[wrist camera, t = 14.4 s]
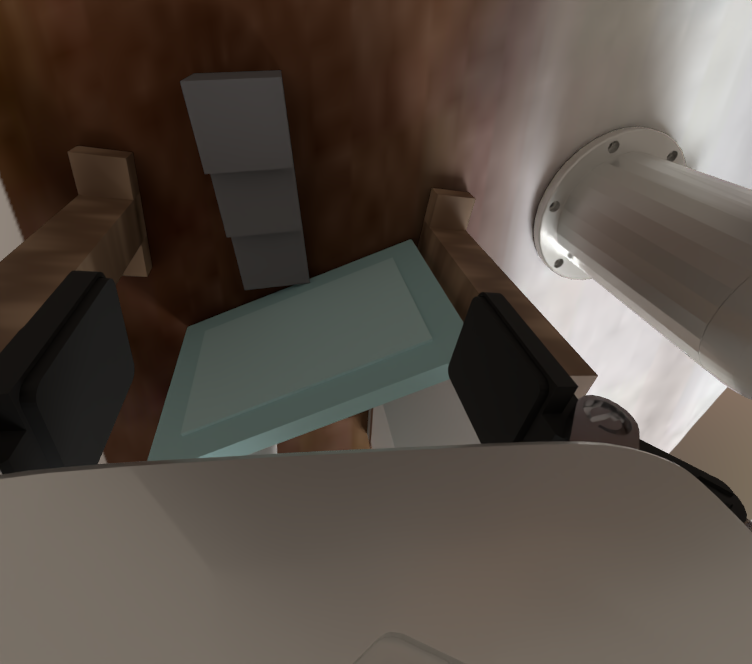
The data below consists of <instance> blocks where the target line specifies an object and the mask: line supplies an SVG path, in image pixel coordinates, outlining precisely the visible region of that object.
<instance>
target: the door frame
mask: <svg viewBox="0 0 752 664" xmlns="http://www.w3.org/2000/svg"><path fill="white" fill-rule="evenodd" d="M68 156H69V160H70V164H71V168H72V172H73V175H74V179H75V183H76V187H77V191H78V196H77V197H76V198H74V199H73V200H72V201H71V202H70V203H69V204H67V205H66V206H65V207H64V208H63V209H62V210H60V211H59V212H58V213H57V214H56V215H54V216H53V217H52V218H51V219H50V220H49V221H47V222H46V223H45V224H44V225H43V226H42V227H40V228H39V229H38V230H37V231H36V232H35V233H33V234H32V235H31V236H30V237H29V238H28V239H26V240H25V241H24V242H23V243H22V244H21V245H19V246H18V247H17V248H16V249H15V250H13V251H12V252H11V253H10V254H9V255H8V256H7V257H5V258H4V259H3V260H2V261H1V262H0V352H1V351H2V350H3V349H4V348H5V347H6V345H7V344H8V343H9V342H10V341H11V340H12V338H13V337H14V336H15V335H16V334H17V332H18V331H19V330H20V329H21V328H23V327H24V326H25V325H26V323H27V322H28V321H29V320H30V319H31V318H32V316H33V315H34V314H35V313H36V312H37V311H38V309H39V308H40V307H41V306H42V305H43V303H44V302H45V301H46V300H47V299H48V298H49V296H50V295H51V294H52V293H53V292H54V291H55V289H56V288H57V287H58V286H59V285H60V283H61V282H62V281H63V280H64V279H65V278H66V276H67V275H68V274H69V273H70V272H71V271H74V270H76V271H95V272H102V273H104V275H105V276H106V278H112V279H113V280H114V282H115V285H116V284H117V282H118V281H119V279H120V278H121V276H139V277H147V276H148V274H149V273H150V271H151V269H152V262H151V256H150V250H149V244H148V238H147V232H146V226H145V220H144V215H143V209H142V203H141V197H140V191H139V185H138V179H137V173H136V167H135V161H134V155H133V152H127V151H118V150H110V149H102V148H93V147H85V146H76V147H74V148H73V149H71V150H69V151H68ZM475 200H476V198H474V197H473V196H472V195H471V194H470V193H469V192H463V191H455V190H446V189H438V188H432V189H431V193H430V197H429V201H428V206H427V210H426V214H425V218H424V222H423V226H422V230H421V234H420V238H419V243H418V247H417V249H418V250H419V252H420V254H421V255H422V257H423V258H424V260H425V262H426V263H427V265H428V267H429V268H430V270H431V271H432V273H433V275H434V276H435V278H436V279H437V281H438V283H439V284H440V286H441V287H442V289H443V291H444V292H445V294H446V295H447V297H448V299H449V300H450V302H451V303H452V305H453V307H454V308H455V310H456V311H457V313H458V315H459V316H460V318H461V320H462V321H463V323H464V320H465V318H466V315H467V312H468V309H469V306H470V304H471V301H472V299H473V298H474V297H475V296H476V297H477V296H478V295H479V293H481V292H493V293H501V294H502V295H503V296H504V297H505V298H506V299H507V301H508V302H509V303H510V304H511V305H512V307H513V308H514V309H515V310H516V311H517V313H518V314H519V315H520V316H521V318H522V319H523V320H524V321H525V322H526V324H527V325H528V326H529V327H530V328H531V330H532V331H533V332H534V333H535V334H536V336H537V337H538V338H539V339H540V340H541V342H542V343H543V344H544V345H545V347H546V348H547V349H548V350H549V351H550V353H551V354H552V355H553V356H554V357H555V359H556V360H557V361H558V362H559V363H560V365H561V366H562V367H563V368H564V370H565V371H566V372H567V373H568V374H569V376H570V377H571V378H572V379H573V380H574V382H575V383H576V384H577V385H578V386H579V387H578V388H577V390H576V392H575V393H574V394H575V396H576V397H577V398H578V399H579V398H581V397H582V396H585V395H586V393H587V392H588V390H589V389H590V387H591V386H592V384H593V383H594V381H595V379H596V378H597V376H598V375H597V374H596V373H595V372H594V371H593V370H592V369H591V368H590V366H589V365H588V364H587V363H586V362H585V361H584V360H583V359H582V358H581V357H580V355H579V354H578V353H577V352H576V351H575V350H574V349H573V348H572V347H571V346H570V344H569V343H568V342H567V341H566V340H565V339H564V338H563V337H562V336H561V335H560V334H559V332H558V331H557V330H556V329H555V328H554V327H553V326H552V325H551V324H550V323H549V321H548V320H547V319H546V318H545V317H544V316H543V315H542V314H541V313H540V312H539V310H538V309H537V308H536V307H535V306H534V305H533V304H532V303H531V302H530V301H529V300H528V298H527V297H526V296H525V295H524V294H523V293H522V292H521V291H520V290H519V289H518V287H517V286H516V285H515V284H514V283H513V282H512V281H511V280H510V279H509V278H508V276H507V275H506V274H505V273H504V272H503V271H502V270H501V269H500V268H499V267H498V266H497V264H496V263H495V262H494V261H493V260H492V259H491V258H490V257H489V256H488V255H487V253H486V252H485V251H484V250H483V249H482V248H481V247H480V246H479V245H478V244H477V242H476V241H475V240H474V239H473V238H472V237H471V236H470V235H469V234H468V233H467V232H466V229H467V225H468V222H469V219H470V216H471V212H472V209H473V206H474V203H475Z"/></svg>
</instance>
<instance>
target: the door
mask: <svg viewBox="0 0 752 664" xmlns="http://www.w3.org/2000/svg"><path fill="white" fill-rule="evenodd" d="M309 280H310V283H306V284H297V285H293V286H290V287H288V288H285V289H283V290H280V291H278V292H275V293H272V294H270V295H267V296H265V297H262V298H260V299H257V300H255V301H252V302H250V303H247V304H245V305H242V306H239V307H237V308H234V309H232V310H229V311H227V312H224V313H222V314H219V315H217V316H214V317H211V318H209V319H206V320H204V321H201V322H199V323H196V324H194V325H191V326H189V327H187V330H186V334H185V337H184V340H183V344H182V347H181V350H180V354H179V357H178V360H177V364H176V367H175V370H174V374H173V377H172V380H171V384H170V387H169V390H168V394H167V397H166V400H165V404H164V407H163V411H162V414H161V417H160V421H159V424H158V427H157V431H156V434H155V437H154V441H153V444H152V447H151V451H150V454H149V457H148V461H157V460H173V459H191V458H209V457H227V456H245V455H249V454H251V453H254V452H257V451H259V450H262V449H265V448H267V447H270V446H273V445H275V444H278V443H281V442H283V441H286V440H289V439H291V438H294V437H297V436H299V435H302V434H305V433H307V432H310V431H313V430H315V429H318V428H321V427H323V426H326V425H329V424H331V423H334V422H337V421H339V420H342V419H345V418H347V417H350V416H353V415H355V414H358V413H361V412H363V411H366V410H369V409H371V408H374V407H377V406H380V405H382V404H385V403H388V402H390V401H393V400H396V399H398V398H401V397H404V396H406V395H409V394H412V393H414V392H417V391H420V390H422V389H425V388H428V387H430V386H433V385H436V384H438V383H441V382H444V381H446V380H449V379H450V378H449V375H448V366H449V363H450V360H451V357H452V354H453V351H454V349H455V346H456V343H457V340H458V337H459V335H460V332H461V329H462V326H463V321H462V320H461V318H460V316H459V315H458V313H457V311H456V310H455V308H454V307H453V305H452V303H451V302H450V300H449V299H448V297H447V295H446V294H445V292H444V291H443V289H442V287H441V286H440V284H439V283H438V281H437V279H436V278H435V276H434V275H433V273H432V271H431V270H430V268H429V267H428V265H427V263H426V262H425V260H424V258H423V257H422V255H421V254H420V252H419V250H418V249H417V247H416V246H415V244H414V242H413V241H412V239H410V240H407V241H405V242H402V243H400V244H397V245H394V246H392V247H389V248H387V249H384V250H382V251H379V252H377V253H374V254H372V255H369V256H366V257H364V258H361V259H359V260H356V261H354V262H351V263H349V264H346V265H344V266H341V267H339V268H336V269H333V270H331V271H328V272H326V273H323V274H321V275H318V276H316V277H313V278H311V279H309Z"/></svg>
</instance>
